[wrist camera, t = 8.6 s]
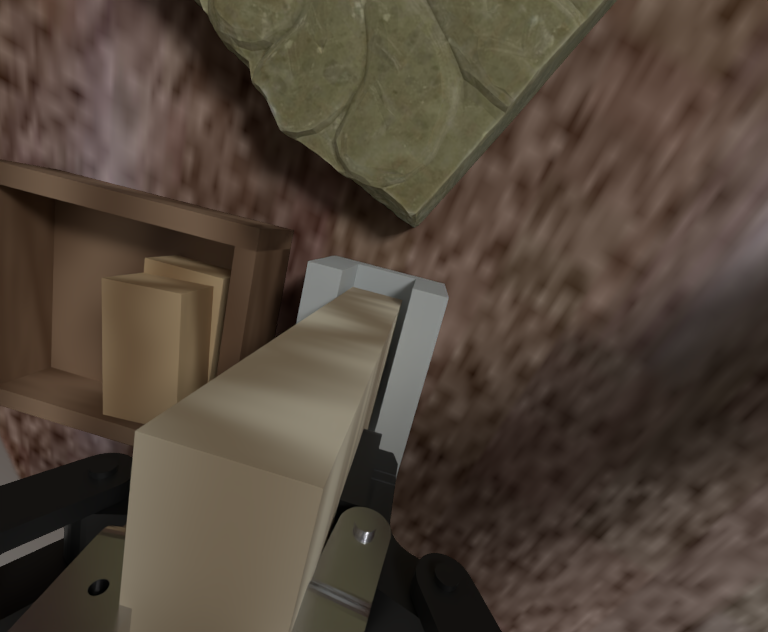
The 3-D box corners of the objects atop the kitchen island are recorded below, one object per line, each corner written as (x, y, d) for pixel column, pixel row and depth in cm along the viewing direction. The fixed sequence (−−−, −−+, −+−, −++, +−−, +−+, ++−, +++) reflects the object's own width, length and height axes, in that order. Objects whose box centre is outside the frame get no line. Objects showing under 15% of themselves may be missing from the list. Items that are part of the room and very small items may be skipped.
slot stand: (444, 284, 19) (448, 298, 15) (393, 461, 22) (384, 517, 17) (335, 255, 20) (308, 261, 15) (298, 433, 22) (265, 481, 18)
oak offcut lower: (247, 273, 19) (223, 278, 17) (229, 391, 21) (205, 410, 19) (177, 255, 20) (144, 257, 17) (165, 373, 21) (133, 389, 19)
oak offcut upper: (213, 286, 17) (181, 293, 15) (205, 408, 19) (175, 431, 17) (143, 272, 18) (101, 277, 15) (141, 393, 19) (102, 414, 17)
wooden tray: (293, 230, 20) (260, 228, 16) (257, 432, 23) (221, 473, 19) (57, 169, 20) (-30, 154, 17) (52, 371, 23) (-23, 398, 20)
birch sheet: (402, 300, 17) (323, 488, 4) (358, 464, 19) (220, 914, 6) (352, 286, 17) (135, 431, 4) (315, 451, 19) (95, 865, 7)
